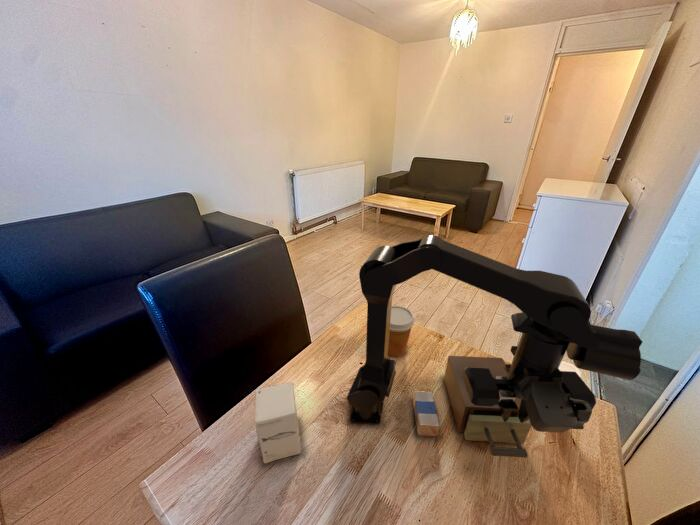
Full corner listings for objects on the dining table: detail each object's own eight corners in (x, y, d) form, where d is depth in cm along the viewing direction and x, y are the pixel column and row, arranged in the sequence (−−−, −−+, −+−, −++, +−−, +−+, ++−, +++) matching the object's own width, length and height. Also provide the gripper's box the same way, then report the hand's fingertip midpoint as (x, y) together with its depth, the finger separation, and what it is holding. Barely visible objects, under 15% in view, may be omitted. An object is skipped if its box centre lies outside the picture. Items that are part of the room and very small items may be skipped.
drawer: (536, 470, 52) (547, 450, 50) (473, 466, 53) (480, 446, 50) (498, 390, 68) (504, 371, 65) (449, 388, 69) (454, 369, 66)
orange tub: (415, 344, 83) (420, 311, 78) (403, 366, 76) (407, 330, 70) (386, 333, 88) (388, 300, 82) (371, 352, 80) (373, 318, 75)
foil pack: (437, 436, 59) (439, 425, 57) (417, 435, 59) (419, 424, 58) (430, 402, 66) (432, 391, 64) (412, 401, 66) (413, 390, 65)
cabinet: (520, 435, 59) (531, 410, 55) (458, 432, 60) (465, 406, 56) (494, 381, 71) (502, 357, 68) (443, 379, 72) (448, 355, 68)
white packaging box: (263, 465, 54) (252, 423, 48) (263, 428, 61) (254, 388, 55) (302, 455, 56) (296, 413, 50) (298, 420, 62) (292, 379, 57)
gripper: (496, 397, 37) (473, 466, 44) (648, 405, 36) (599, 473, 43) (469, 338, 47) (454, 402, 54) (587, 343, 46) (556, 407, 53)
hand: (512, 419), depth 51 cm, fingers open, 3 cm apart
